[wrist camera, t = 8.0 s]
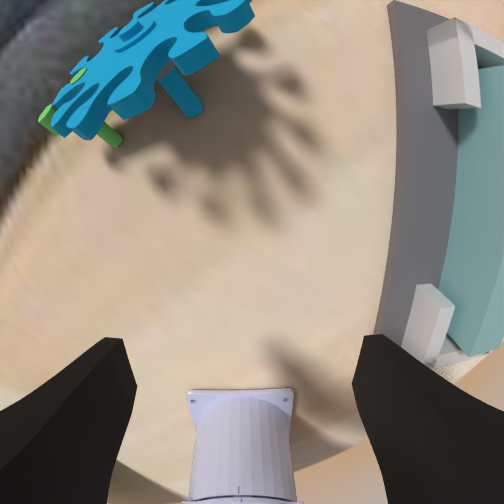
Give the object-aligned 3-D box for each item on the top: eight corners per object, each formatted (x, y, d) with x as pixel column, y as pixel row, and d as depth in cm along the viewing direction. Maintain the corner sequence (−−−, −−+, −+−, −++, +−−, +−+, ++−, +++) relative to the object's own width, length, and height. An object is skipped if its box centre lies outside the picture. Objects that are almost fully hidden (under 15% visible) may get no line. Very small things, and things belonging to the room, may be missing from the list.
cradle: (472, 337, 20) (496, 363, 17) (367, 358, 20) (385, 395, 16) (505, 52, 12) (540, 48, 8) (386, 5, 12) (418, -19, 8)
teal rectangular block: (461, 309, 18) (498, 347, 13) (431, 314, 18) (468, 357, 13) (487, 85, 12) (541, 82, 8) (455, 73, 12) (511, 64, 8)
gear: (222, -42, 9) (276, 1, 5) (262, 33, 15) (323, 137, 11) (58, 60, 12) (2, 184, 8) (113, 111, 17) (100, 237, 13)
